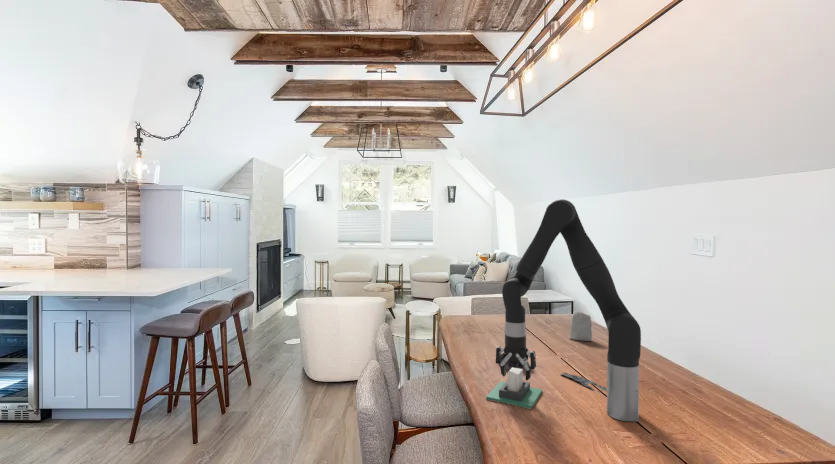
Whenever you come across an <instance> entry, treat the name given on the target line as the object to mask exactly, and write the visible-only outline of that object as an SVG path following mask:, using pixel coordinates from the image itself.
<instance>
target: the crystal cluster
mask: <svg viewBox="0 0 835 464" xmlns="http://www.w3.org/2000/svg"><path fill="white" fill-rule="evenodd" d="M526 350H527V351H529V349H528V347H526ZM505 357H506V354H505V353H504V352H502V353H501V360H502V361H503V360H504V359H505ZM525 357H526V359H527V360H528V361H529V356H528V355H526V356H525ZM505 365H506V370H507V369H508V371H509V370H510V369H511V368H512V367H513V368H519V369H523V370H524V369H525V370H526V368H525V367H524V366H523V365H522V364H521V362H515V361H513V362H512V361H510V360H508V361H507V362H506V363H505ZM499 367H501V365H500V364H499Z"/></svg>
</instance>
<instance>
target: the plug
mask: <svg viewBox="0 0 835 464" xmlns="http://www.w3.org/2000/svg"><path fill="white" fill-rule="evenodd" d="M507 380H508V390H509V391H514V392H520V390H521V389H522V388H523V380H524V369H519V368H513V367H512V368H511V369H510V370H508V372H507Z"/></svg>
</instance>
